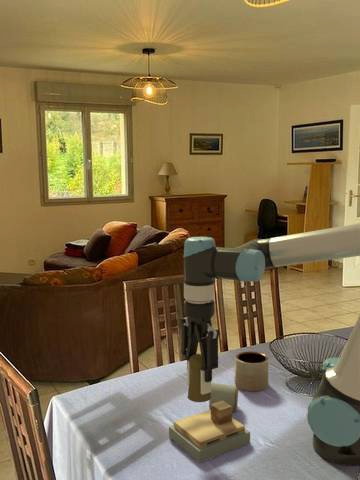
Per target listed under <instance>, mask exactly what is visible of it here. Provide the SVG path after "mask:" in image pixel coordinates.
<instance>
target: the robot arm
mask: <svg viewBox="0 0 360 480" xmlns="http://www.w3.org/2000/svg"><path fill="white" fill-rule="evenodd" d="M183 247H184V249H183V255H182V257H183V275H184V276H183V278H184V279H183V298H184V299H185V300H184V301H183V306H184V307H183V313H184V316H185V317H181V318H180V324H181V355H182V356H183V357H184V356H185V360H186V369H187V386H188V387H189V382H190V374H191V367H190V365H189V359H190V357H191V356H192V355H194V354H198V348H199V351H200V354H201V358H202V365H203V368H201V394H202V395H203V394H207V393H210V392H211V383H212V381H213V370H215V369H218V368H219V336H220V330H219V329H214V328H213V324H212V317H214V316H215V300H214V299H215V282H216V281H215V279H221V280H230V281H231V280H232V281H240V282H244V283H247V282H252V283H253V282H259V281H261V280H262V279H263V276H264V273H265V271H266V270H267V269H273V268H277V267H287V266H292V265H301V264H302V265H303V264H308V263H316V262H323V261H324V262H325V261H331V260H341V259H346V258H354V257H355V258H356V257H360V223H353V224H348V225H342V226H337V227H331V228H323V229H319V230H311V231H305V232H300V233H294V234H287V235H281V236H275V237H274V236H273V237H270V238H265V239H262V238H256V239H251V240H248V242H246V243H243V244H242V245H239V246H238V247H220V246H216V241H215V239H214V238H213V237H209V236H192V237H188V238H186V239H185V241H184V245H183ZM321 370H322V377H321V378H322V379H321V381H320V382H319V385H318V387H317V390H316V392H315V394H314V397H312V398H313V399H312V401H311V402H310V403H309V405H308V407H307V414H306V419H307V423H308V426H309V428H310V429H311V431H312V433H313V435H312V446H313V447H312V448H313V450H314V451H315V452H316V453H317V454H318V455H319V456H320V457H322V458H323V459H326V460H327V461H329V462H332V463H335V464H338V465H343V466H344V465H345V466H360V314H359V315H358V317H357V319H356V322H355V324H354V325H353V329H352V330H351V332H350V335H349V337H348V339H347V342H346V344H345V345H344V348H343V350H342V353H341V354H340V357H329V358H326V359H325V360H324V361H323V363H322V368H321Z"/></svg>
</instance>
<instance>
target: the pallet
mask: <svg viewBox="0 0 360 480" xmlns="http://www.w3.org/2000/svg"><path fill="white" fill-rule="evenodd" d="M173 425H174V427H175V428H176V429H177V430H178V431H180V432H181V433H182V434H183V435H185V436H186V437H187V438H188V439H190V440H191V441H192V442H193V443H195V444H196V445H197V446H198V447H199V448H202V447H205V446H207V442H210V441H213V440H215V439H218V440H220V441H221V440H223V439H226V435H229V434H232V433H234V432H237V433H238V434H239V433H242V432H245V429H246V426H245V425H244V424H242V423H241V422H239V421H238V420H236V419H234V417H232V421H230V422H227V423H224V424H221V425H219V424H218V423H216V422H215V421H214V420H212V419H211V410H210V409H208V410H205V411H202V412H199V413H196V414H193V415H190V416H186V417H183V418H181V419H178V420H174V421H173Z"/></svg>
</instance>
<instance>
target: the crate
mask: <svg viewBox="0 0 360 480" xmlns="http://www.w3.org/2000/svg"><path fill="white" fill-rule="evenodd" d="M232 418H233V411H232V406H231V405H229V404H228V403H226V402H224V401H220V402H216V403H213V404H211V419H212V420H214V421H215V422H216V423H218V424H219V425H221V424H224V423H227V422H230V421H232Z"/></svg>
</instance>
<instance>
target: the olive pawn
mask: <svg viewBox="0 0 360 480" xmlns="http://www.w3.org/2000/svg"><path fill="white" fill-rule="evenodd" d="M189 365H190V367H191V374H190V382H189V386H188V392H187V399H188V400H189V401H191V402H194V403H206V402H209V400H210V399H211V392H210V393H207V394H203V395H202V394H201V368H203V365H202V358H201V353H196V354H194V355H192V356H191V357H190V359H189Z"/></svg>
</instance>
